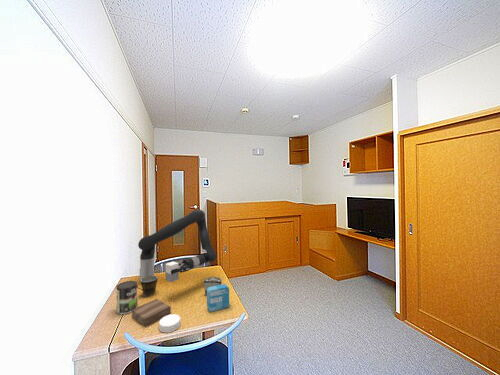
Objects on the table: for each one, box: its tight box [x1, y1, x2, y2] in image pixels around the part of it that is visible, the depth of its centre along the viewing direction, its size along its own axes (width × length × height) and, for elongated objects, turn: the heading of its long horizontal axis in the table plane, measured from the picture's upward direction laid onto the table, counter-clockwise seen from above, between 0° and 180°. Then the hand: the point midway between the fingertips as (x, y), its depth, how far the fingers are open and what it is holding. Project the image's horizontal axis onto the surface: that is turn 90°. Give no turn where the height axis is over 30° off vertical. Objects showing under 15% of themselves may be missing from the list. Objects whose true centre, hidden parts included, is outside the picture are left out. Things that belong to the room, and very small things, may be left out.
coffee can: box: [116, 280, 138, 315], centre depth 123 cm, size 10×10×14 cm
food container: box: [202, 276, 223, 297], centre depth 140 cm, size 12×6×10 cm, turn 84°
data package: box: [206, 283, 230, 313], centre depth 123 cm, size 12×4×12 cm, turn 115°
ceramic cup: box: [137, 275, 158, 298], centre depth 139 cm, size 13×10×10 cm
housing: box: [165, 261, 180, 283], centre depth 134 cm, size 6×6×10 cm
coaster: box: [158, 313, 182, 333], centre depth 108 cm, size 10×10×4 cm
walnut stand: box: [131, 298, 172, 328], centre depth 117 cm, size 14×14×4 cm
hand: (168, 271), depth 132 cm, fingers closed on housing, 5 cm apart
